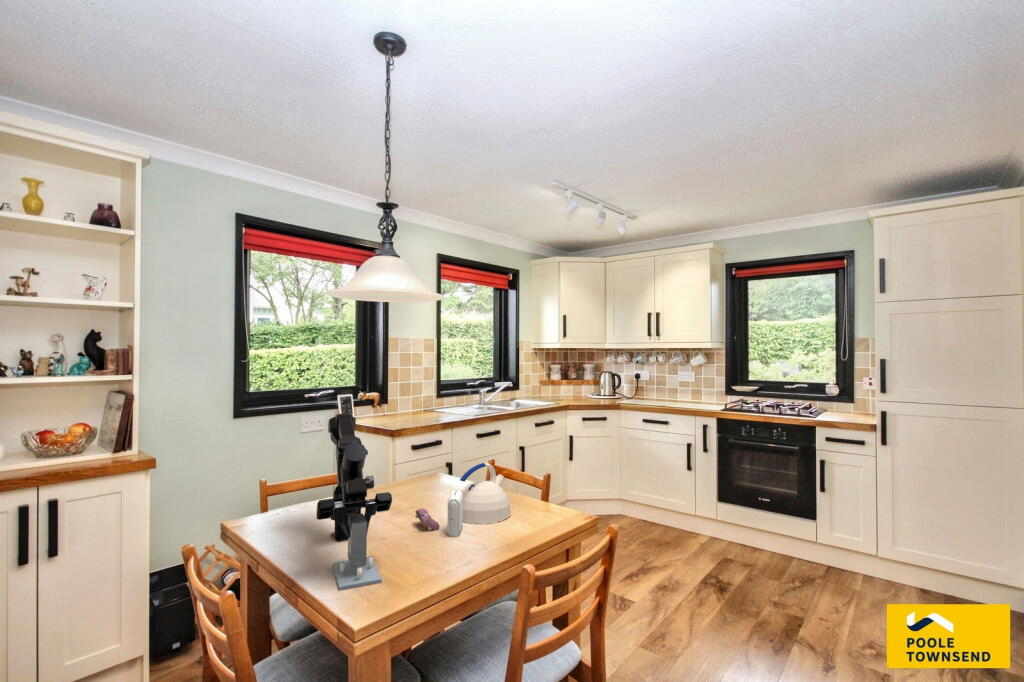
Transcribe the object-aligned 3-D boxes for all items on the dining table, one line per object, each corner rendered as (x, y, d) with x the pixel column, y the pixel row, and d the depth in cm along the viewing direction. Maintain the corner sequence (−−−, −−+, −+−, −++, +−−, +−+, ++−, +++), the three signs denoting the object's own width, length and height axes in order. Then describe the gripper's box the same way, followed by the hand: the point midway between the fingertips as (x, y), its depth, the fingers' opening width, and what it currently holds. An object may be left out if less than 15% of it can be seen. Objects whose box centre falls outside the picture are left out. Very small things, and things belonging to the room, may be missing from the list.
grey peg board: (332, 565, 129) (332, 552, 129) (371, 558, 133) (371, 546, 133) (339, 590, 115) (339, 576, 115) (381, 582, 120) (382, 568, 120)
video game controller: (419, 526, 163) (410, 509, 161) (431, 518, 164) (422, 501, 163) (429, 536, 154) (419, 518, 152) (441, 528, 156) (432, 510, 154)
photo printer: (460, 536, 150) (460, 496, 150) (446, 536, 150) (446, 496, 150) (463, 525, 160) (464, 487, 160) (450, 524, 160) (451, 487, 160)
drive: (347, 557, 127) (347, 515, 127) (361, 555, 128) (362, 513, 129) (350, 568, 120) (351, 523, 121) (366, 565, 122) (366, 521, 122)
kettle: (523, 514, 172) (523, 463, 172) (480, 529, 157) (481, 473, 157) (484, 502, 185) (484, 454, 186) (441, 514, 170) (441, 463, 171)
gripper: (318, 468, 124) (320, 526, 114) (391, 462, 132) (399, 515, 122) (315, 491, 131) (317, 547, 121) (385, 484, 139) (392, 536, 129)
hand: (357, 536), depth 123 cm, fingers closed on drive, 4 cm apart
